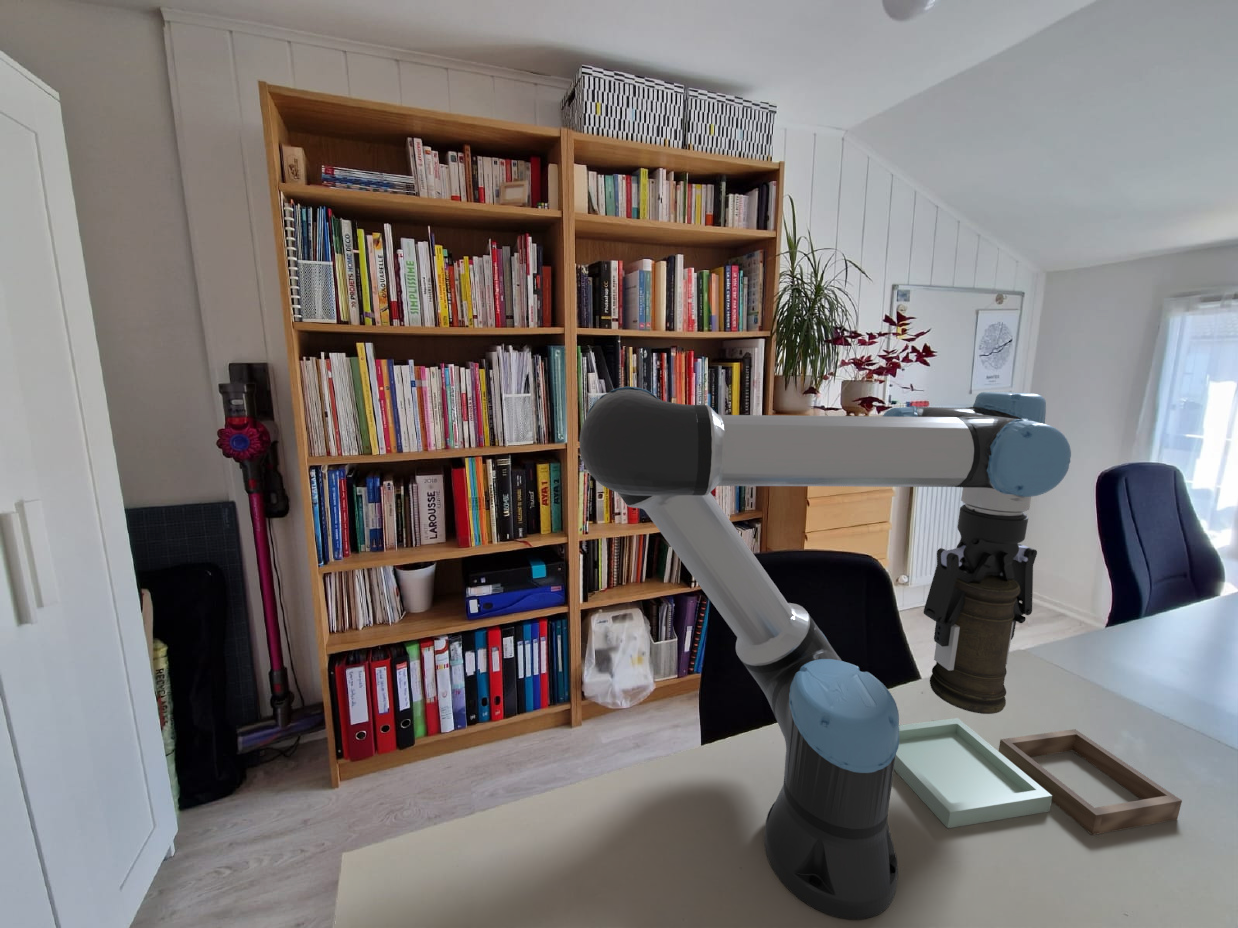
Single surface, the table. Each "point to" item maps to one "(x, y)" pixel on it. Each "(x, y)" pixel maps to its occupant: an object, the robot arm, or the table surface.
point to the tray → (964, 775)
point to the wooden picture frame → (1106, 818)
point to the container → (979, 648)
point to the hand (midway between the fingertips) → (970, 661)
